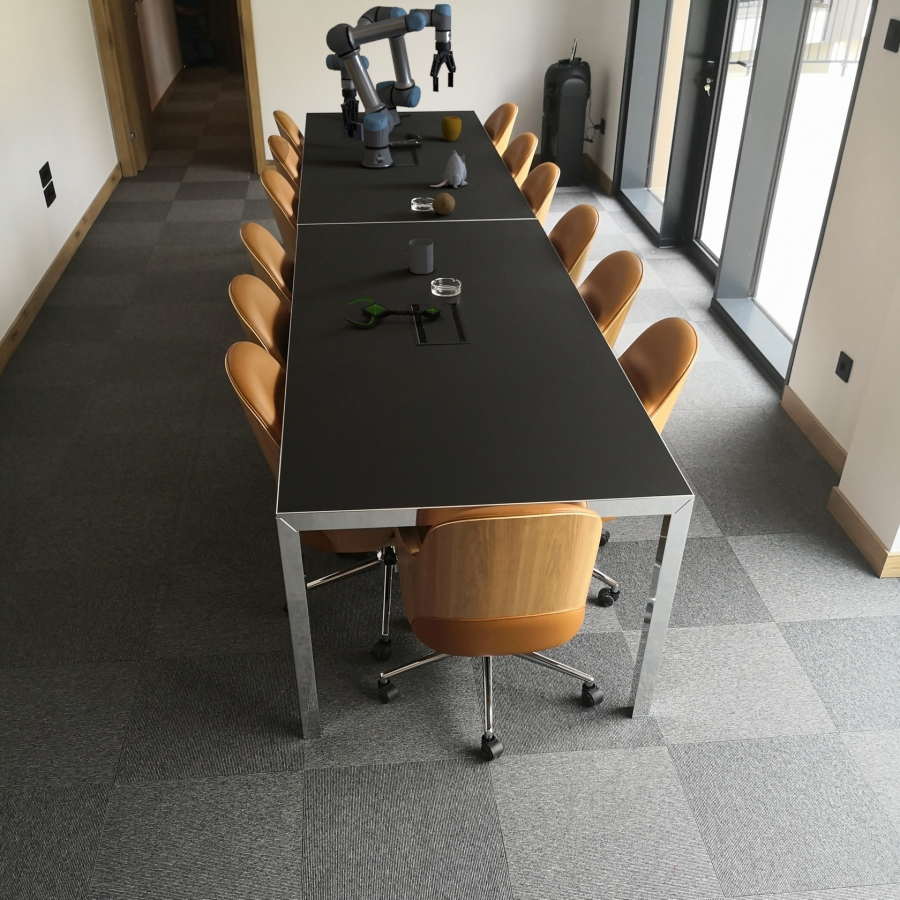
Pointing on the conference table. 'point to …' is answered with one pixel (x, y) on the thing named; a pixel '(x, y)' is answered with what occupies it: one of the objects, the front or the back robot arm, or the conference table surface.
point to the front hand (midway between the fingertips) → (443, 89)
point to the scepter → (388, 312)
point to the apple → (451, 127)
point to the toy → (454, 171)
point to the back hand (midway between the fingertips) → (352, 136)
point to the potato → (443, 203)
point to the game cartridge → (356, 131)
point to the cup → (421, 256)
